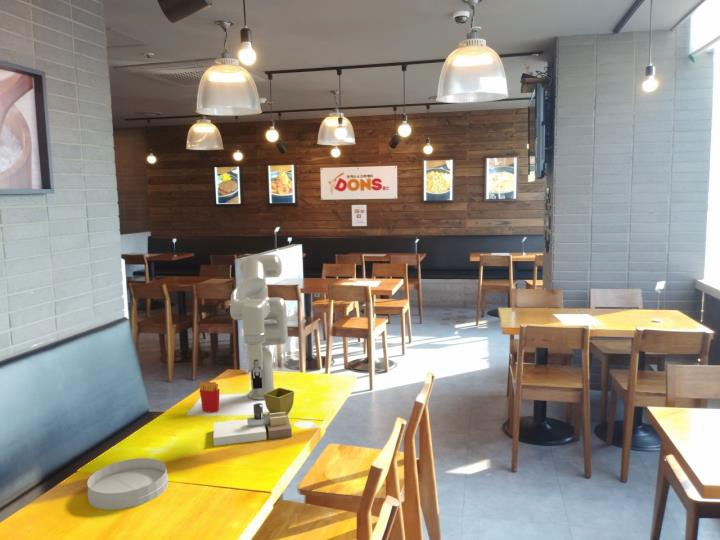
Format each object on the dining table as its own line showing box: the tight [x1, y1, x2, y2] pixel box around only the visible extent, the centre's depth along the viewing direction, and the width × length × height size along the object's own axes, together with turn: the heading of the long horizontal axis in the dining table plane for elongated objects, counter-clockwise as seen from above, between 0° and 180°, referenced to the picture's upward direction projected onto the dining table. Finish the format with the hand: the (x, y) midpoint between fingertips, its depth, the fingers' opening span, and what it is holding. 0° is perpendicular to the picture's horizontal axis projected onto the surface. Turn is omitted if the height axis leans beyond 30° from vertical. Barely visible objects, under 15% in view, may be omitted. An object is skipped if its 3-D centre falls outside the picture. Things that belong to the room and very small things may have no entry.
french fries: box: [198, 381, 220, 414], centre depth 231 cm, size 8×4×12 cm, turn 74°
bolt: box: [246, 402, 281, 427], centre depth 207 cm, size 3×12×7 cm, turn 103°
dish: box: [86, 457, 169, 511], centre depth 168 cm, size 22×22×5 cm
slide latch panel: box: [212, 412, 293, 447], centre depth 207 cm, size 14×27×6 cm, turn 103°
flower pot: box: [263, 387, 295, 415], centre depth 225 cm, size 9×9×9 cm
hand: (256, 383), depth 206 cm, fingers open, 9 cm apart
